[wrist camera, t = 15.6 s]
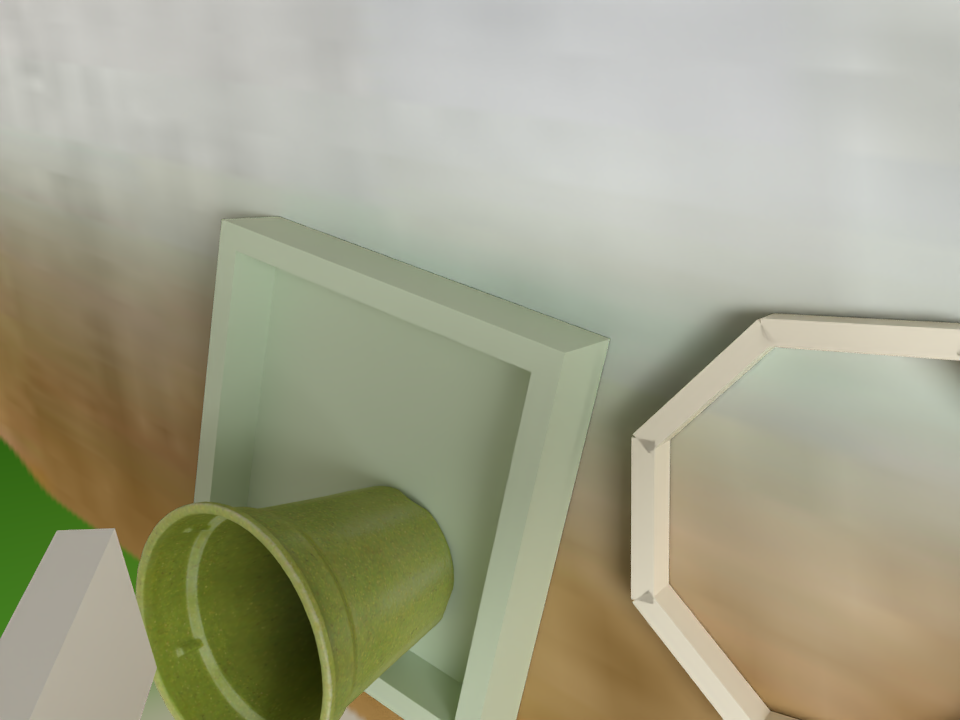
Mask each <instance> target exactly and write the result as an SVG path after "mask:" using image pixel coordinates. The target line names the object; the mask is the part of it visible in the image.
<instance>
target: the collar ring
mask: <svg viewBox="0 0 960 720" xmlns="http://www.w3.org/2000/svg"><path fill="white" fill-rule="evenodd" d="M775 347H781V348H794V349H808V350H822V351H835V352H849V353H863V354H877V355H890V356H904V357H918V358H931V359H945V360H959V361H960V323H949V322H930V321H911V320H892V319H873V318H854V317H835V316H815V315H796V314H777V313H774V314H771V315H768V316H766V317H763V318H760V319H758V320H756V321H755V322H754V323H753V324H752V325H751V326H750V327H749V328H748V329H747V330H745V331H744V332H743V333H742V334H741V335H740V336H739V337H738V338H737V339H736V340H735V341H733V342H732V343H731V344H730V345H729V346H728V347H727V348H726V349H725V350H724V351H723V352H721V353H720V354H719V355H718V356H717V357H716V358H715V359H714V360H713V361H712V362H711V363H710V364H708V365H707V366H706V367H705V368H704V369H703V370H702V371H701V372H700V373H699V374H698V375H696V376H695V377H694V378H693V379H692V380H691V381H690V382H689V383H688V384H687V385H686V386H685V387H683V388H682V389H681V390H680V391H679V392H678V393H677V394H676V395H675V396H674V397H673V398H671V399H670V400H669V401H668V402H667V403H666V404H665V405H664V406H663V407H662V408H661V409H659V410H658V411H657V412H656V413H655V414H654V415H653V416H652V417H651V418H650V419H649V420H648V421H646V422H645V423H644V424H643V425H642V426H641V427H640V428H639V429H638V430H637V431H636V432H634V433H633V435H634V436H633V437H631V599H634V600H635V601H633V602H632V603H633V604H634V605H635V606H636V608H637V609H638V610H639V612H640V613H641V614H642V615H643V617H644V618H645V619H646V621H647V622H648V623H649V624H650V626H651V627H652V628H653V630H654V631H655V632H656V633H657V635H658V636H659V637H660V639H661V640H662V641H663V642H664V644H665V645H666V646H667V648H668V649H669V650H670V651H671V653H672V654H673V655H674V656H675V658H676V659H677V660H678V662H679V663H680V664H681V665H682V667H683V668H684V669H685V671H686V672H687V673H688V674H689V676H690V677H691V678H692V680H693V681H694V682H695V683H696V685H697V686H698V687H699V689H700V690H701V691H702V692H703V694H704V695H705V696H706V698H707V699H708V700H709V701H710V703H711V704H712V705H713V707H714V708H715V709H716V710H717V712H718V713H719V714H720V715H721V717H722V718H723V719H724V720H799V719H796V718H792V717H789V716H786V715H782V714H779V713H776V712H772V711H770V710H769V709H768V707H767V706H766V705H765V704H764V702H763V701H762V700H761V699H760V697H759V696H758V695H757V694H756V692H755V691H754V690H753V689H752V687H751V686H750V685H749V684H748V682H747V681H746V680H745V679H744V677H743V676H742V675H741V674H740V672H739V671H738V670H737V669H736V667H735V666H734V665H733V664H732V662H731V661H730V660H729V659H728V657H727V656H726V655H725V654H724V652H723V651H722V650H721V649H720V647H719V646H718V645H717V644H716V642H715V641H714V640H713V639H712V637H711V636H710V635H709V633H708V632H707V631H706V630H705V628H704V627H703V626H702V625H701V623H700V622H699V621H698V620H697V618H696V617H695V616H694V615H693V613H692V612H691V611H690V610H689V608H688V607H687V606H686V605H685V603H684V602H683V601H682V600H681V598H680V597H679V596H678V595H677V593H676V592H675V591H674V590H673V588H672V587H671V586H670V585H669V506H670V440H671V439H672V438H673V437H674V436H675V435H676V434H677V433H679V432H680V431H681V430H682V429H683V428H684V427H685V426H686V425H688V424H689V423H690V422H691V421H692V420H693V419H694V418H695V417H697V416H698V415H699V414H700V413H701V412H702V411H703V410H704V409H706V408H707V407H708V406H709V405H710V404H711V403H712V402H714V401H715V400H716V399H717V398H718V397H719V396H720V395H721V394H723V393H724V392H725V391H726V390H727V389H728V388H729V387H730V386H732V385H733V384H734V383H735V382H736V381H737V380H738V379H740V378H741V377H742V376H743V375H744V374H745V373H746V372H747V371H749V370H750V369H751V368H752V367H753V366H754V365H755V364H756V363H758V362H759V361H760V360H761V359H762V358H763V357H764V356H766V355H767V354H768V353H769V352H770V351H771V350H772V349H773V348H775Z"/></svg>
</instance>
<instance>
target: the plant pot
mask: <svg viewBox="0 0 960 720" xmlns="http://www.w3.org/2000/svg"><path fill="white" fill-rule="evenodd" d="M453 586H454V568H453V561H452V557H451V553H450V549H449V547H448V544H447V541H446V539H445V537H444V534H443V532H442V530H441V529H440V527H439V525H438V524H437V522H436V520H435V519H434V518H433V516H432V515H431V514H430V512H428V511H427V510H426V509H425V508H423V507H421V506H419V505H418V504H416V503H414V502H413V501H411V500H410V499H409V498H408V497H406V496H405V495H404V494H403V493H402V492H401V491H400V490H398V489H396V488H392V487H388V486H372V487H367V488H362V489H357V490H351V491H346V492H342V493H337V494H333V495H328V496H323V497H318V498H313V499H308V500H303V501H297V502H292V503H286V504H281V505H275V506H270V507H264V508H252V507H232V506H229V505H225V504H221V503H216V502H197V503H192V504H188V505H184V506H182V507H179V508H177V509H175V510H173V511H172V512H170V513H169V514H167V515H166V516H165V517H164V518H163V519H161V520H160V521H159V523H158V524H157V525H156V526H155V528H154V530H153V531H152V533H151V534H150V536H149V537H148V540H147V542H146V544H145V546H144V549H143V552H142V556H141V560H140V563H139V566H138V571H137V582H136V600H137V604H138V607H139V610H140V613H141V617H142V620H143V623H144V627H145V630H146V633H147V636H148V640H149V643H150V646H151V650H152V653H153V656H154V660H155V663H156V666H157V669H156V672H155V675H154V678H153V680H154V682H155V685H156V687H157V689H158V691H159V693H160V695H161V697H162V698H163V700H164V702H165V704H166V706H167V708H168V710H169V711H170V713H171V714H172V716H173V717H174V719H175V720H339V719H340V718H341V716H342V715H343V713H344V711H345V709H346V707H347V706H348V705H349V704H350V703H351V702H352V701H353V700H355V699H356V698H357V697H358V696H359V695H360V694H361V693H362V692H363V691H364V690H366V689H367V688H368V687H369V686H370V685H371V684H372V683H373V682H374V681H375V680H376V679H377V678H378V677H380V676H381V675H382V674H383V673H384V672H385V671H386V670H387V669H388V668H389V667H390V666H392V665H393V664H394V663H395V662H396V661H397V660H398V659H399V658H400V657H401V656H402V655H404V654H405V653H406V652H407V651H408V650H409V649H410V648H411V647H412V646H414V645H415V644H416V643H417V642H418V641H419V640H420V639H421V638H422V637H424V636H425V635H426V634H427V633H428V632H429V631H430V630H431V629H432V628H433V627H435V626H436V625H437V624H438V623H439V622H440V620H441V619H442V618H443V614H444V612H445V610H446V606H447V604H448V601H449V598H450V596H451V593H452V590H453Z"/></svg>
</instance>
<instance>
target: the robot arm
mask: <svg viewBox="0 0 960 720" xmlns="http://www.w3.org/2000/svg"><path fill="white" fill-rule="evenodd" d="M156 669H157V666H156V663H155V660H154V656H153V653H152V650H151V646H150V643H149V640H148V636H147V633H146V630H145V627H144V623H143V620H142V617H141V613H140V610H139V607H138V604H137V600H136V597H135V594H134V590H133V587H132V584H131V580H130V577H129V574H128V571H127V567H126V564H125V561H124V557H123V554H122V551H121V547H120V544H119V541H118V538H117V534H116V531H115V528H110V529H86V530H61V531H57V532H56V534H55V535H54V537H53V539H52V541H51V543H50V545H49V547H48V549H47V551H46V553H45V554H44V556H43V558H42V560H41V562H40V564H39V566H38V568H37V570H36V572H35V574H34V576H33V578H32V579H31V581H30V583H29V585H28V587H27V589H26V591H25V593H24V595H23V596H22V598H21V600H20V602H19V604H18V606H17V608H16V610H15V612H14V614H13V616H12V618H11V619H10V622H9V623H8V625H7V627H6V629H5V631H4V633H3V635H2V637H1V638H0V720H140V718H141V715H142V712H143V709H144V706H145V703H146V700H147V697H148V694H149V691H150V688H151V685H152V681H153V678H154V675H155V672H156Z"/></svg>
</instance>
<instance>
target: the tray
mask: <svg viewBox="0 0 960 720" xmlns="http://www.w3.org/2000/svg"><path fill="white" fill-rule="evenodd" d="M609 342H610V339H609V338H606V337H604V336H601V335H598V334H595V333H593V332H590V331H587V330H585V329H582V328H579V327H576V326H574V325H571V324H568V323H566V322H563V321H560V320H558V319H555V318H552V317H549V316H547V315H544V314H541V313H539V312H536V311H533V310H531V309H528V308H525V307H522V306H520V305H517V304H514V303H512V302H509V301H506V300H503V299H501V298H498V297H495V296H493V295H490V294H487V293H485V292H482V291H479V290H476V289H474V288H471V287H468V286H466V285H463V284H460V283H457V282H455V281H452V280H449V279H447V278H444V277H441V276H439V275H436V274H433V273H430V272H428V271H425V270H422V269H420V268H417V267H414V266H412V265H409V264H406V263H403V262H401V261H398V260H395V259H393V258H390V257H387V256H384V255H382V254H379V253H376V252H374V251H371V250H368V249H366V248H363V247H360V246H357V245H355V244H352V243H349V242H347V241H344V240H341V239H339V238H336V237H333V236H330V235H328V234H325V233H322V232H320V231H317V230H314V229H311V228H309V227H306V226H303V225H301V224H298V223H295V222H293V221H290V220H287V219H284V218H282V217H279V216H277V217H256V218H236V219H222V221H221V231H220V241H219V251H218V262H217V272H216V282H215V292H214V302H213V312H212V323H211V333H210V343H209V353H208V363H207V373H206V384H205V394H204V404H203V414H202V424H201V434H200V445H199V455H198V465H197V475H196V485H195V495H194V503H197V502H216V503H221V504H225V505H229V506H232V507H252V508H264V507H270V506H275V505H281V504H286V503H292V502H297V501H303V500H308V499H313V498H318V497H323V496H328V495H333V494H337V493H342V492H346V491H351V490H357V489H362V488H367V487H372V486H388V487H392V488H396V489H398V490H400V491H401V492H402V493H403V494H404V495H405V496H406V497H408V498H409V499H410V500H411V501H413V502H414V503H416V504H418V505H419V506H421V507H423V508H425V509H426V510H427V511H428V512H430V514H431V515H432V516H433V518H434V519H435V520H436V522H437V524H438V525H439V527H440V529H441V530H442V532H443V534H444V537H445V539H446V541H447V544H448V547H449V549H450V553H451V557H452V561H453V568H454V586H453V590H452V593H451V596H450V598H449V601H448V604H447V606H446V610H445V612H444V614H443V618H442V619H441V620H440V622H439V623H438V624H437V625H436V626H435V627H433V628H432V629H431V630H430V631H429V632H428V633H427V634H426V635H425V636H424V637H422V638H421V639H420V640H419V641H418V642H417V643H416V644H415V645H414V646H412V647H411V648H410V649H409V650H408V651H407V652H406V653H405V654H404V655H402V656H401V657H400V658H399V659H398V660H397V661H396V662H395V663H394V664H393V665H392V666H390V667H389V668H388V669H387V670H386V671H385V672H384V673H383V674H382V675H381V676H380V677H378V678H377V679H376V680H375V681H374V682H373V683H372V684H371V685H370V686H369V687H368V688H367V689H366V690H364V691H365V692H366V693H367V694H369V695H370V696H372V697H373V698H375V699H376V700H377V701H379V702H380V703H382V704H383V705H385V706H386V707H387V708H389V709H390V710H392V711H393V712H395V713H396V714H397V715H399V716H400V717H402V718H403V719H405V720H516V718H517V714H518V710H519V706H520V702H521V698H522V694H523V690H524V686H525V682H526V678H527V674H528V670H529V666H530V661H531V657H532V653H533V649H534V645H535V641H536V637H537V633H538V629H539V625H540V621H541V617H542V613H543V609H544V605H545V601H546V597H547V593H548V589H549V585H550V581H551V576H552V572H553V568H554V564H555V560H556V556H557V552H558V548H559V544H560V540H561V536H562V532H563V528H564V524H565V520H566V516H567V512H568V508H569V504H570V500H571V496H572V492H573V487H574V483H575V479H576V475H577V471H578V467H579V463H580V459H581V455H582V451H583V447H584V443H585V439H586V435H587V431H588V427H589V423H590V419H591V415H592V411H593V407H594V402H595V398H596V394H597V390H598V386H599V382H600V378H601V374H602V370H603V366H604V362H605V358H606V354H607V350H608V346H609Z"/></svg>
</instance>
